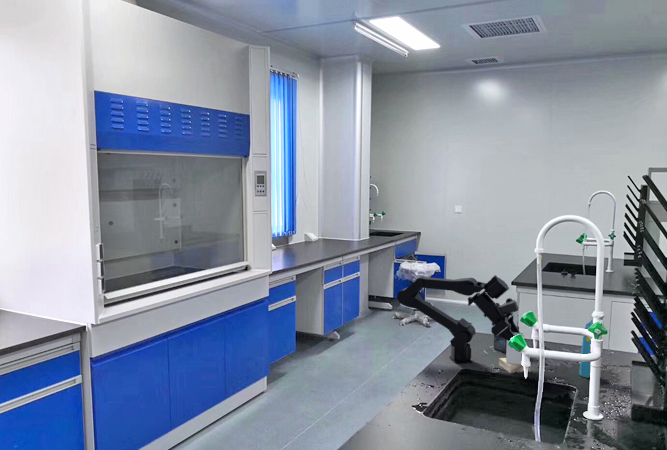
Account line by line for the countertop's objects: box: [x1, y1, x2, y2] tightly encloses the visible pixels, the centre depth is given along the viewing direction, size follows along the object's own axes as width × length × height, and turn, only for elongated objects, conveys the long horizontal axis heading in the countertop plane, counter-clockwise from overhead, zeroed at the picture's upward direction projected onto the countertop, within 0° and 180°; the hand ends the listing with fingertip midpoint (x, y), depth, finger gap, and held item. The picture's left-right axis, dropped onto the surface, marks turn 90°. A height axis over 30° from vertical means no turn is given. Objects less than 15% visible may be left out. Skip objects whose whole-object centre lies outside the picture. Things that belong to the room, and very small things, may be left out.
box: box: [493, 325, 520, 354], centre depth 200 cm, size 8×6×11 cm
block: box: [498, 357, 532, 374], centre depth 182 cm, size 8×8×3 cm
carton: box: [505, 332, 525, 365], centre depth 181 cm, size 6×6×10 cm
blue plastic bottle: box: [578, 318, 594, 379], centre depth 173 cm, size 7×5×19 cm, turn 144°
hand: (519, 339), depth 180 cm, fingers open, 9 cm apart
